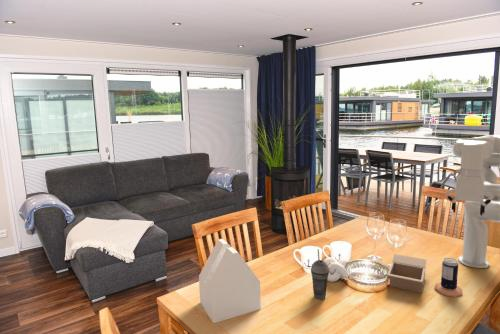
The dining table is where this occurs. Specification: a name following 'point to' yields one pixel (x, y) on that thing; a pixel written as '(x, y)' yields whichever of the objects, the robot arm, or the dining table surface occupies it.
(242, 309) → the milk carton
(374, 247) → the dining table surface
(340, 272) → the white decorative knot
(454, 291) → the coaster
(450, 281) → the beverage can
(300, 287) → the dining table surface
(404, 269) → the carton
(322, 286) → the beverage cup
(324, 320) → the dining table surface
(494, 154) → the robot arm
